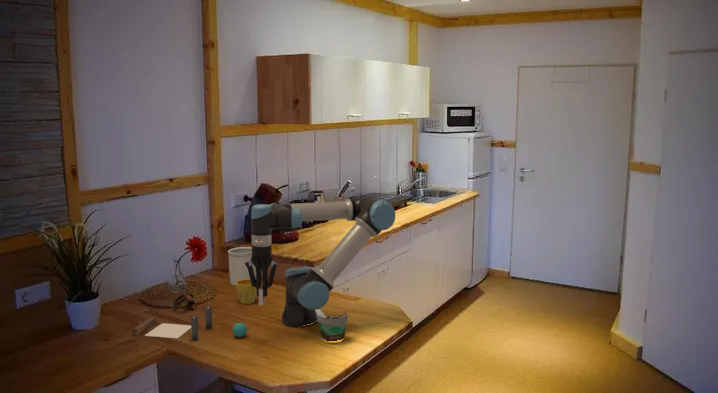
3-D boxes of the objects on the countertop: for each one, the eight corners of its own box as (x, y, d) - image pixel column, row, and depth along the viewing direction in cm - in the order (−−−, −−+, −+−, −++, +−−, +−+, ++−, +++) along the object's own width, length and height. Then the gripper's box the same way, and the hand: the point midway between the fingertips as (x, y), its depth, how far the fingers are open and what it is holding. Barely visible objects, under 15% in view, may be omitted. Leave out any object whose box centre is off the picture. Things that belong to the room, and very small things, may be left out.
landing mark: (193, 326, 242) (193, 325, 242) (177, 338, 228) (177, 338, 228) (162, 323, 244) (162, 323, 244) (144, 335, 231) (144, 335, 231)
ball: (249, 334, 233) (248, 321, 232) (244, 339, 228) (243, 326, 227) (236, 333, 234) (235, 320, 233) (230, 338, 229) (230, 325, 228)
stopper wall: (155, 323, 245) (155, 317, 245) (137, 335, 231) (137, 329, 231) (151, 322, 245) (151, 317, 245) (132, 334, 232) (132, 328, 231)
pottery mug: (194, 314, 258) (184, 299, 256) (177, 321, 260) (166, 307, 258) (203, 299, 269) (193, 285, 267) (186, 306, 271) (176, 293, 269)
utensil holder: (224, 285, 300) (223, 252, 298) (234, 278, 314) (234, 246, 312) (251, 287, 298) (251, 253, 295) (261, 279, 312) (260, 247, 310)
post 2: (213, 327, 241) (212, 306, 240) (210, 329, 238) (209, 308, 237) (207, 326, 241) (206, 305, 240) (204, 328, 239) (203, 307, 238)
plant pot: (254, 297, 281) (253, 277, 280) (262, 303, 273) (261, 282, 271) (233, 300, 276) (232, 280, 275) (240, 306, 267) (240, 285, 266)
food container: (324, 346, 222) (324, 321, 220) (317, 341, 227) (317, 316, 226) (353, 341, 227) (353, 316, 226) (346, 336, 233) (346, 311, 231)
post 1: (199, 338, 229) (198, 316, 228) (196, 340, 226) (195, 318, 225) (193, 337, 229) (192, 315, 228) (190, 340, 227) (189, 317, 225)
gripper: (241, 246, 222) (242, 306, 225) (274, 247, 220) (274, 308, 223) (249, 242, 229) (249, 300, 232) (280, 243, 227) (281, 302, 230)
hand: (261, 304), depth 227 cm, fingers closed
